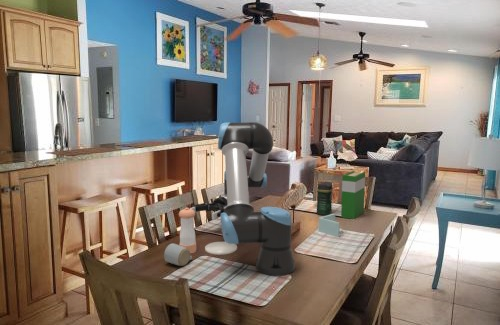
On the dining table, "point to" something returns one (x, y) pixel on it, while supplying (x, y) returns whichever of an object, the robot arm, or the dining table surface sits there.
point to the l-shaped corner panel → (329, 225)
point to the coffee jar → (324, 198)
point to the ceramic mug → (177, 255)
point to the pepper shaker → (187, 230)
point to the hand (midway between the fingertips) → (199, 215)
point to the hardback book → (353, 194)
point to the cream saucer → (220, 248)
